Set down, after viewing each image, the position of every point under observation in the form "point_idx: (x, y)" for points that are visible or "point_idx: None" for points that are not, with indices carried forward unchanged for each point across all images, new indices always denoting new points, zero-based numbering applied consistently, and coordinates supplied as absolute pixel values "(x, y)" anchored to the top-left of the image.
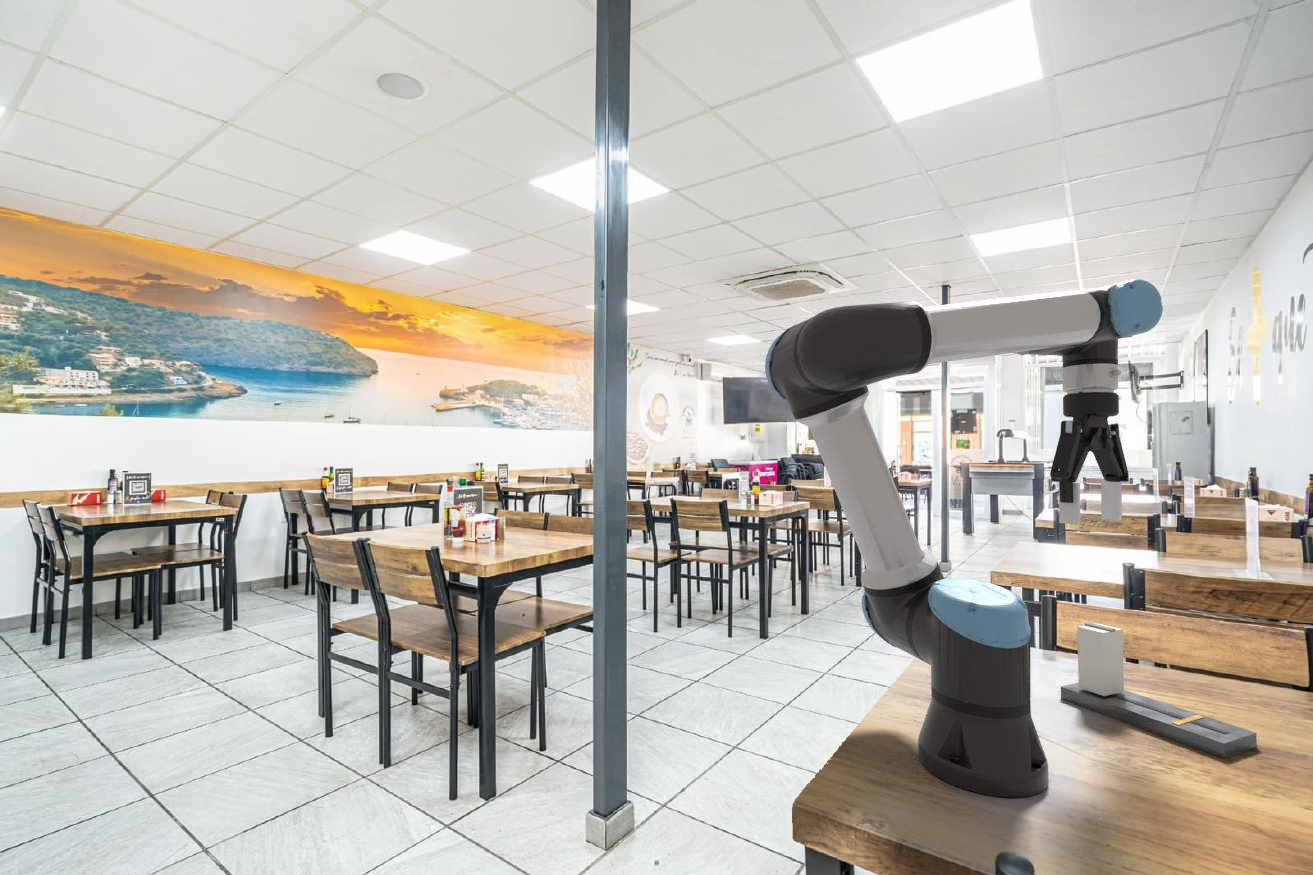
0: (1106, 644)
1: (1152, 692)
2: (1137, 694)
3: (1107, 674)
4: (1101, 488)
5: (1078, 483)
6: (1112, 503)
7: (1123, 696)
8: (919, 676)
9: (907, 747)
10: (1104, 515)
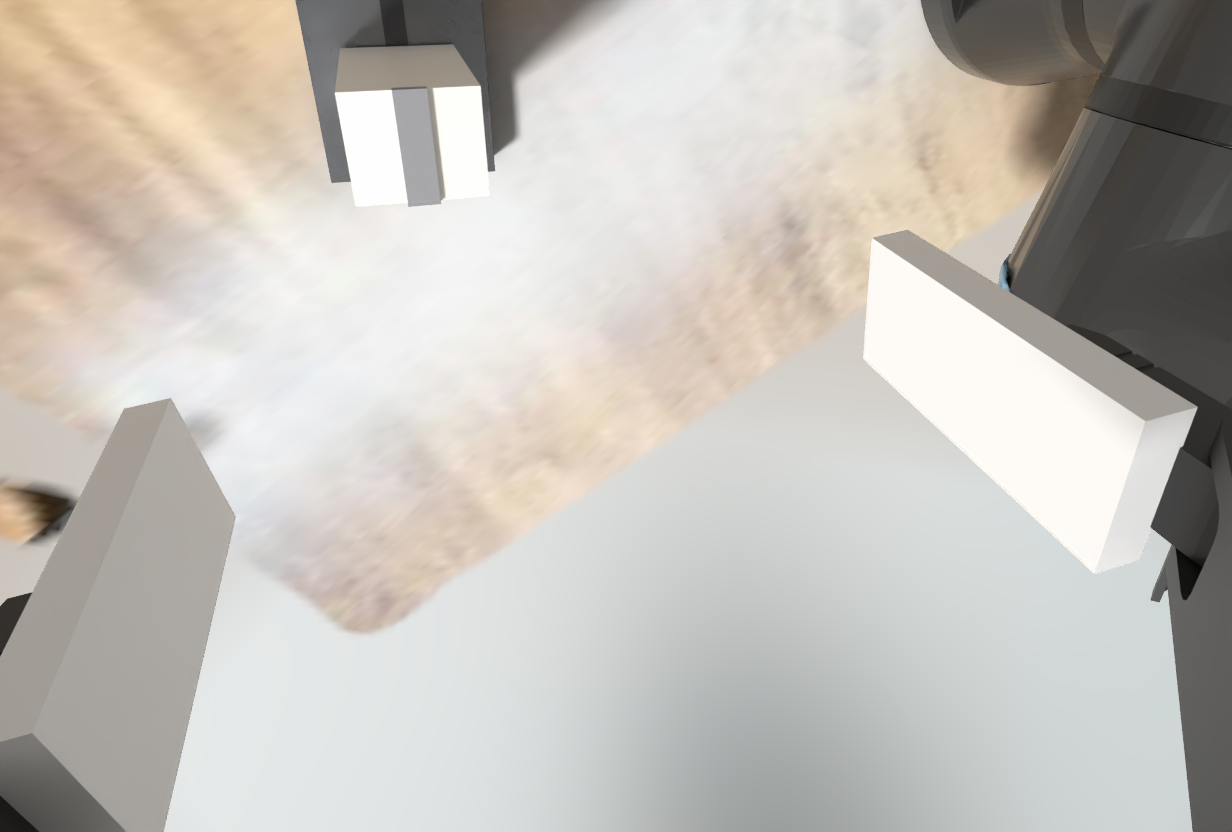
0: (452, 76)
1: (94, 94)
2: (301, 19)
3: (439, 56)
4: (177, 768)
5: (1167, 411)
6: (157, 559)
7: (372, 27)
8: (696, 402)
9: (1063, 81)
10: (220, 522)
